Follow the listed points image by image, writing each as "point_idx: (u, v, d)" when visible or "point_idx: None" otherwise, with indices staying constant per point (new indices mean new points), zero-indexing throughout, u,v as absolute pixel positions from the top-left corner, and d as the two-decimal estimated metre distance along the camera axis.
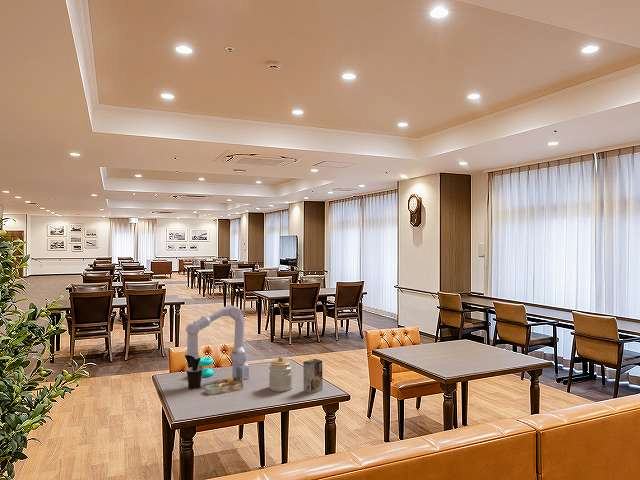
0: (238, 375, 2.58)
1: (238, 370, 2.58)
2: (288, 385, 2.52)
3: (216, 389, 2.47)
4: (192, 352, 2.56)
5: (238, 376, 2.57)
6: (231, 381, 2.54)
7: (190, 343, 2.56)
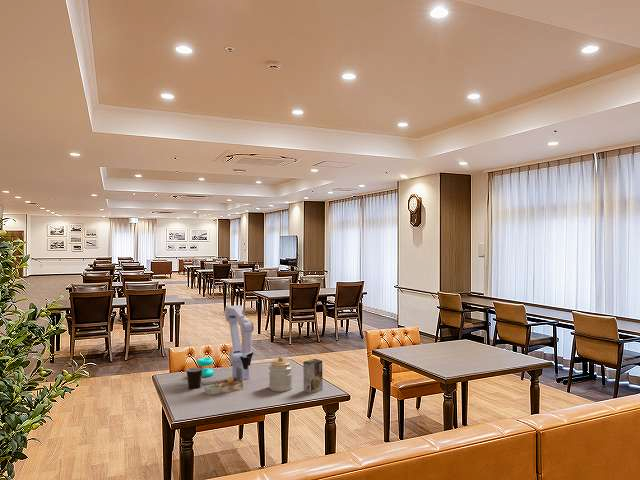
0: (238, 375, 2.58)
1: (238, 370, 2.58)
2: (288, 385, 2.52)
3: (216, 389, 2.47)
4: (244, 350, 2.58)
5: (238, 376, 2.58)
6: (231, 381, 2.54)
7: (251, 341, 2.60)
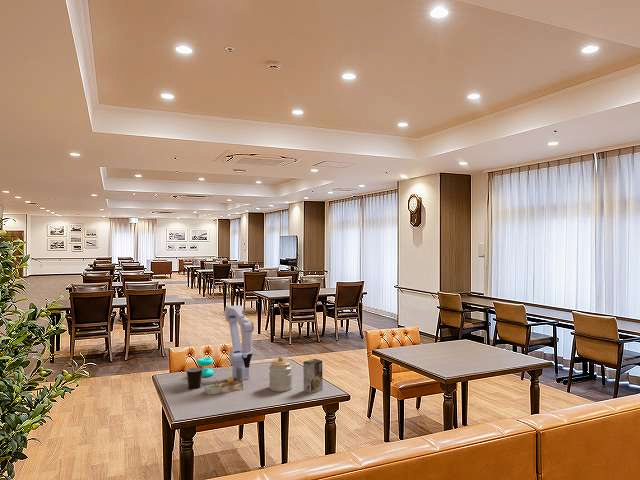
0: (238, 375, 2.58)
1: (238, 370, 2.58)
2: (288, 385, 2.52)
3: (216, 389, 2.47)
4: (244, 350, 2.58)
5: (238, 376, 2.57)
6: (231, 381, 2.54)
7: (251, 341, 2.60)
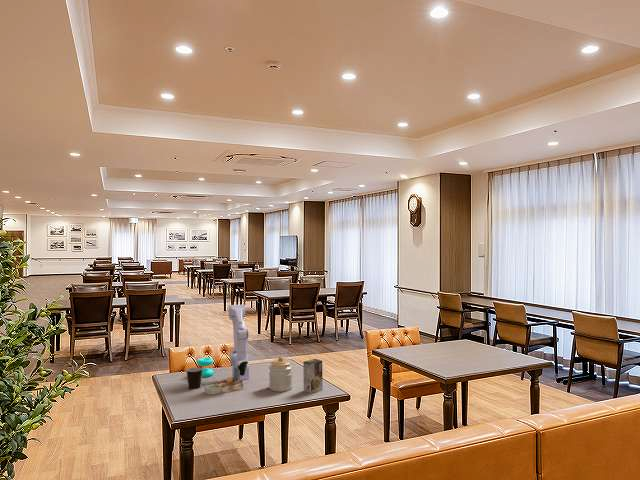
0: (236, 375, 2.57)
1: (236, 370, 2.57)
2: (288, 385, 2.52)
3: (216, 389, 2.47)
4: (238, 358, 2.57)
5: (236, 376, 2.57)
6: (230, 381, 2.53)
7: (246, 348, 2.58)
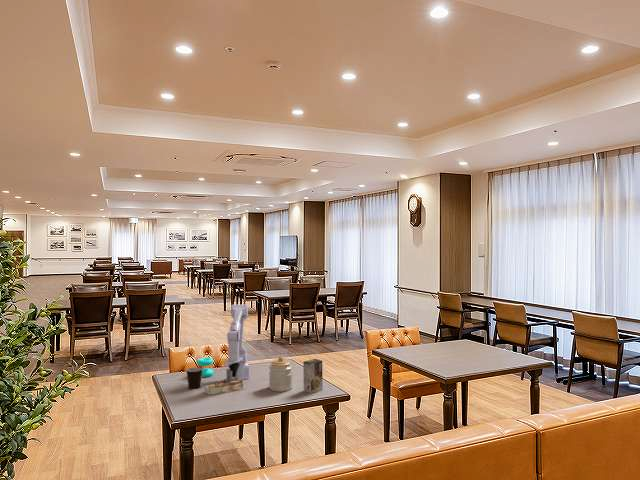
0: (228, 377, 2.54)
1: (228, 372, 2.54)
2: (288, 385, 2.52)
3: (216, 389, 2.47)
4: (229, 359, 2.54)
5: (228, 378, 2.54)
6: None
7: (236, 350, 2.54)
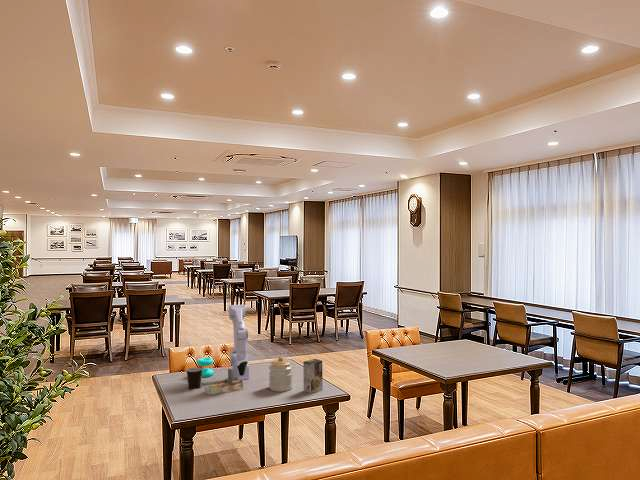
0: (230, 376, 2.55)
1: (230, 371, 2.55)
2: (288, 385, 2.52)
3: (216, 389, 2.47)
4: (238, 358, 2.57)
5: (230, 378, 2.55)
6: None
7: (246, 349, 2.58)
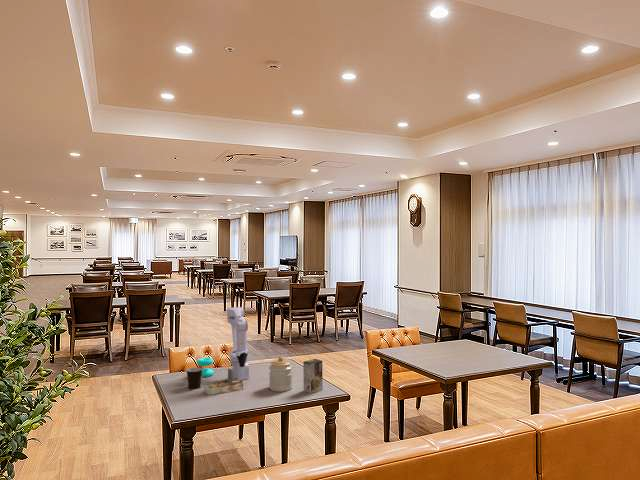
0: (230, 376, 2.55)
1: (230, 371, 2.55)
2: (288, 385, 2.52)
3: (216, 389, 2.47)
4: (238, 349, 2.60)
5: (230, 378, 2.55)
6: None
7: (246, 340, 2.62)
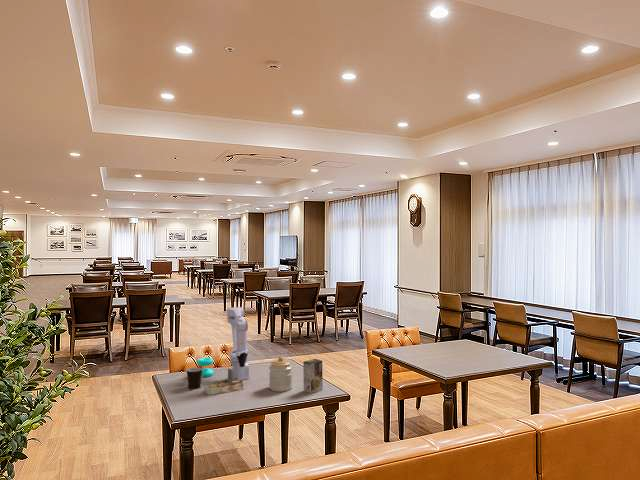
0: (230, 376, 2.55)
1: (230, 371, 2.55)
2: (288, 385, 2.52)
3: (216, 389, 2.47)
4: (238, 349, 2.60)
5: (230, 378, 2.55)
6: None
7: (246, 340, 2.62)
